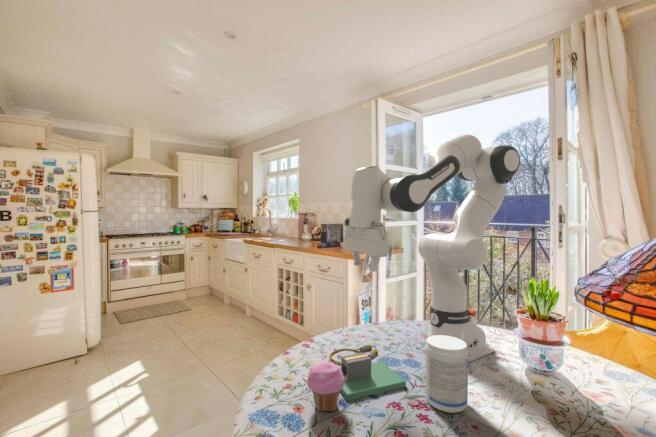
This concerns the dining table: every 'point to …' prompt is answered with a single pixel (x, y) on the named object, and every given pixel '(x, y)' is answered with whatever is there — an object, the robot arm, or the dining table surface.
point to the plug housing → (356, 366)
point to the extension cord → (363, 348)
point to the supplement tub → (446, 373)
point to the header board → (373, 382)
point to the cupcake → (325, 385)
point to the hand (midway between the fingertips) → (364, 268)
